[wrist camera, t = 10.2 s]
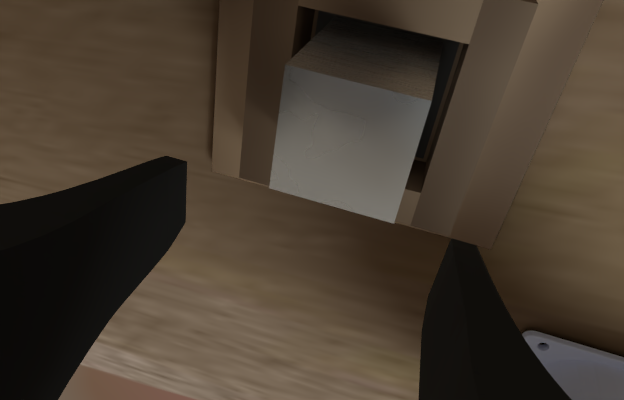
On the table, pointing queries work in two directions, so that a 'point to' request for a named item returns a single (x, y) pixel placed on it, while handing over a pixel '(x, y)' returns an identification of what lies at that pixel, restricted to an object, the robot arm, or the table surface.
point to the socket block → (445, 102)
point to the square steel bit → (354, 117)
